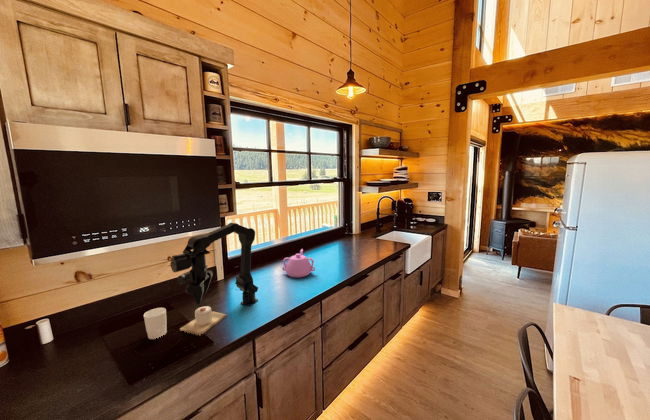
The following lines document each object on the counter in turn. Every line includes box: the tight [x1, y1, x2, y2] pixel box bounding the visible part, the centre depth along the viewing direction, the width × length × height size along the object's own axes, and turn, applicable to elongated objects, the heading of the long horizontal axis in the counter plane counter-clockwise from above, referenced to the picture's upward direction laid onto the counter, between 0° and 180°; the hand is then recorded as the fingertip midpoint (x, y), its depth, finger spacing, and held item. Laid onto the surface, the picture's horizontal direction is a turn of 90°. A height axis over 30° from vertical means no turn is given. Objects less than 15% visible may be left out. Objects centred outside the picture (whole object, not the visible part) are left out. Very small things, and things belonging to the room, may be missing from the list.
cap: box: [194, 305, 212, 325], centre depth 119 cm, size 7×7×6 cm
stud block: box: [179, 310, 227, 337], centre depth 119 cm, size 16×11×5 cm
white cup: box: [143, 307, 168, 340], centre depth 111 cm, size 8×8×10 cm
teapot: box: [281, 248, 316, 278], centre depth 176 cm, size 22×22×14 cm
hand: (201, 299), depth 117 cm, fingers open, 9 cm apart
